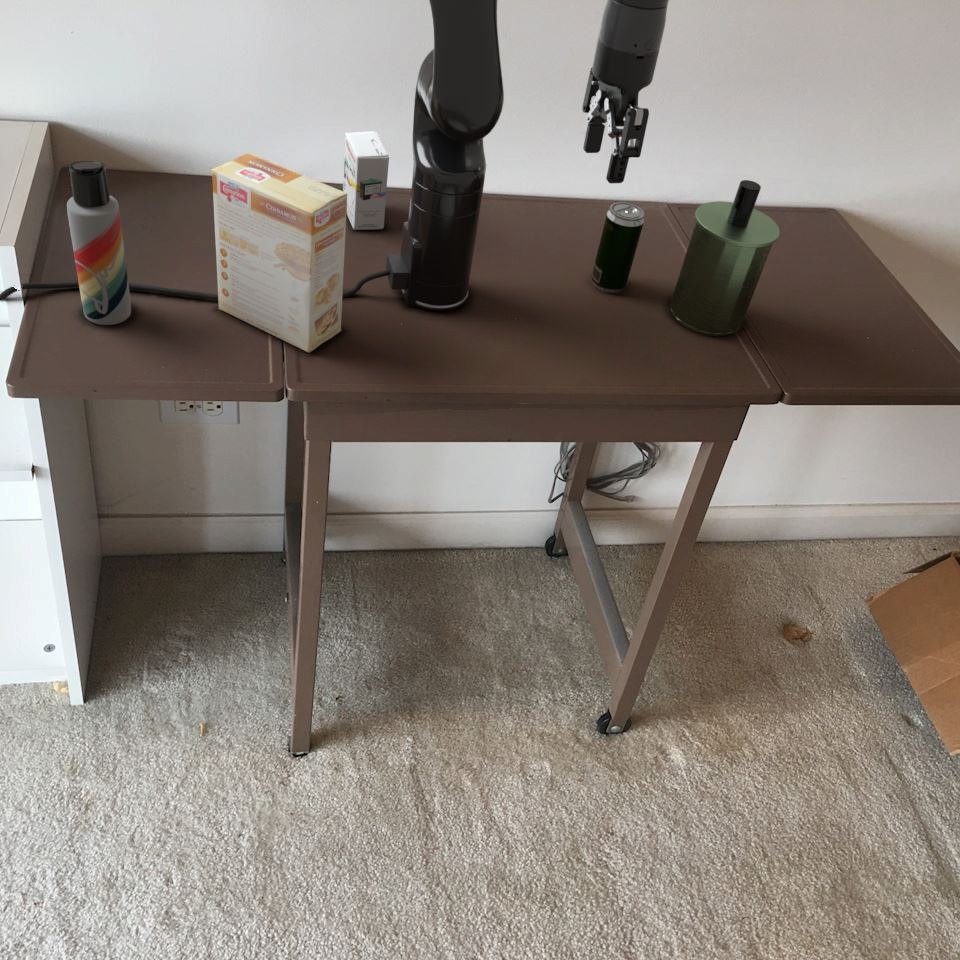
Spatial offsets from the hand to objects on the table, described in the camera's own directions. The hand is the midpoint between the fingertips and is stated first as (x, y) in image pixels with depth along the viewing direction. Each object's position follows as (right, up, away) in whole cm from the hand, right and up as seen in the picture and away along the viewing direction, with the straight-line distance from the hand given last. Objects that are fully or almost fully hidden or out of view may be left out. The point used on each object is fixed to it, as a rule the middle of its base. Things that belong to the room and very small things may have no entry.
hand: (602, 166), depth 128 cm
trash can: (+17, -17, +15) cm, 28 cm away
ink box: (-34, -1, +22) cm, 41 cm away
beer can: (+3, -12, +18) cm, 21 cm away
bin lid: (+19, -6, +5) cm, 21 cm away
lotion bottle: (-63, -20, -5) cm, 66 cm away
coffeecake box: (-42, -20, -1) cm, 47 cm away
